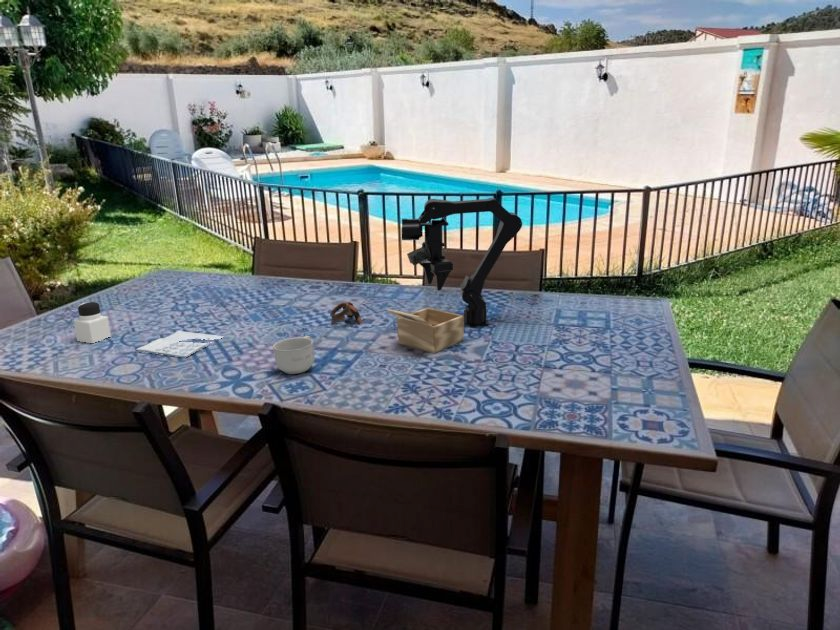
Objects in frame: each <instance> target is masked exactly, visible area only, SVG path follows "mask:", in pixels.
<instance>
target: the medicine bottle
mask: <svg viewBox="0 0 840 630" xmlns="http://www.w3.org/2000/svg"><path fill="white" fill-rule="evenodd" d="M77 311H78V317H79V318H77V319H73V326H74V330H75V336H76V341H77V342H79V341H80V343H84V342H86V343H85V344H90V343H94V344H96V343H95V342H97V343H99V342H98V341H100V342H102V341H104V340H103V339H105V338H108V337H111V338H112V333H111V328H110V322H109V316H105V315H102V314H101V309H100V303H98V302H95V301H89V302H83V303H80V304H79V305H78V306H77ZM108 339H109V338H108ZM101 340H102V341H101ZM105 340H106V339H105Z"/></svg>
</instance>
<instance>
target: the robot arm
mask: <svg viewBox="0 0 840 630" xmlns="http://www.w3.org/2000/svg"><path fill="white" fill-rule="evenodd" d="M485 212H486V213H487V212H490V213H492V214H493V215H494V216H495V217H496V218H497V219H498V220H499V221H500V222H499V224H498V226H497V230H496V234H495V237H494V239H493V240H492V242H491V244H490V245H489V247H488V249H487V251H486V252H485V254H484V256H483V257H482V259H481V261H480V262H479V265H478V266H477V268H476V270H475V271H474V272H473V274H471V276H468V275H467V274H466V275H465V277H464V280H463V281H462V282H461V283H460V285H459V287H460V289H459V290H460V295H461V298H462V301H463V302H464V303H466V304H467V305H465V306H464V311H463V316H464V325H467V326H468V327H470V328H475V327H481V326H482V327H483V326H489V322H487V302H486V300H485V298H484V295H482V291H483V289H484V284H485V281H486V279H487V277H488V276H489V274H490V272H491V271H492V270H493V268H494V266H495V264H496V262H497V261H498V259H499V257H500V256H501V254H502V253H503V251H504V249H505V247H506V246H507V245H508V243H509V242H510V241H511V240H513V238H514V237H515V236H516V235H517V234H518V233H519V232H520V231H521V229H522V227H523V221H522V218H521V217H519V215H517V214H516V213H515V212H509V211H508V210H507V209H506V208H504V207H503V206H502V204H500V203H499V201H498V200H497V199H496V198H493V197H489V198H481V199H466V200H446V199H438V198H430V199H428V200H427V201H426V202H425V203H424V205H423V211H422V212H421V214H420V215H419V216H418V218H402V219H401V241H419V240H420V239H422V238H423V227H424V241H423V242H422V243H421V247H419V248H416V249H414V250H412V251H410V252H408V253H407V254H406V255H407V258H408V260H409V263H410V264H412V265H413V266H416V265H418V264H419V266H421V267H422V268H423V272H424V274H425V279H426V281H427V284H428V285H431V284H432V282H433V278H434V277H435V285H436V290H437V292H438V291H442V290H443V288H444V287H443V286H444V285H445V282H446V280H447V278H448V277H449V275H450V273H451V272H452V271H453V270H454V264H453V263H452V262H451V261H450V260H449V259H446V255H444V253H443V251H444V247H445V246H446V243H445V242H443V241H444V239H443V233H444V232H443V231H444V230H443V229H444V228H443V227H444V226H449V225H450V224H449V222H448V221H447V220H446V219H445V218H446V217H449V216H451V215H459V214H460V215H461V214H471V213H473V214H474V213H475V214H476V213H485ZM430 221H431V222H430Z"/></svg>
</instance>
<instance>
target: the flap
mask: <svg viewBox="0 0 840 630" xmlns="http://www.w3.org/2000/svg"><path fill="white" fill-rule="evenodd" d="M386 311H388V312H389V313H390V314H393V315H394V316H395V317H397V318H401V319H405V320H409V321H413V322H417V323H421V324H425V325H429V326H432V325H431V324H430V323H428V322H427V321H425V320H424V319H422V318H421V317H419V316H416V315H412V314H410V313H407V312H404V311H403V312H402V311H399V310H396V309H391V308H386Z"/></svg>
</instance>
